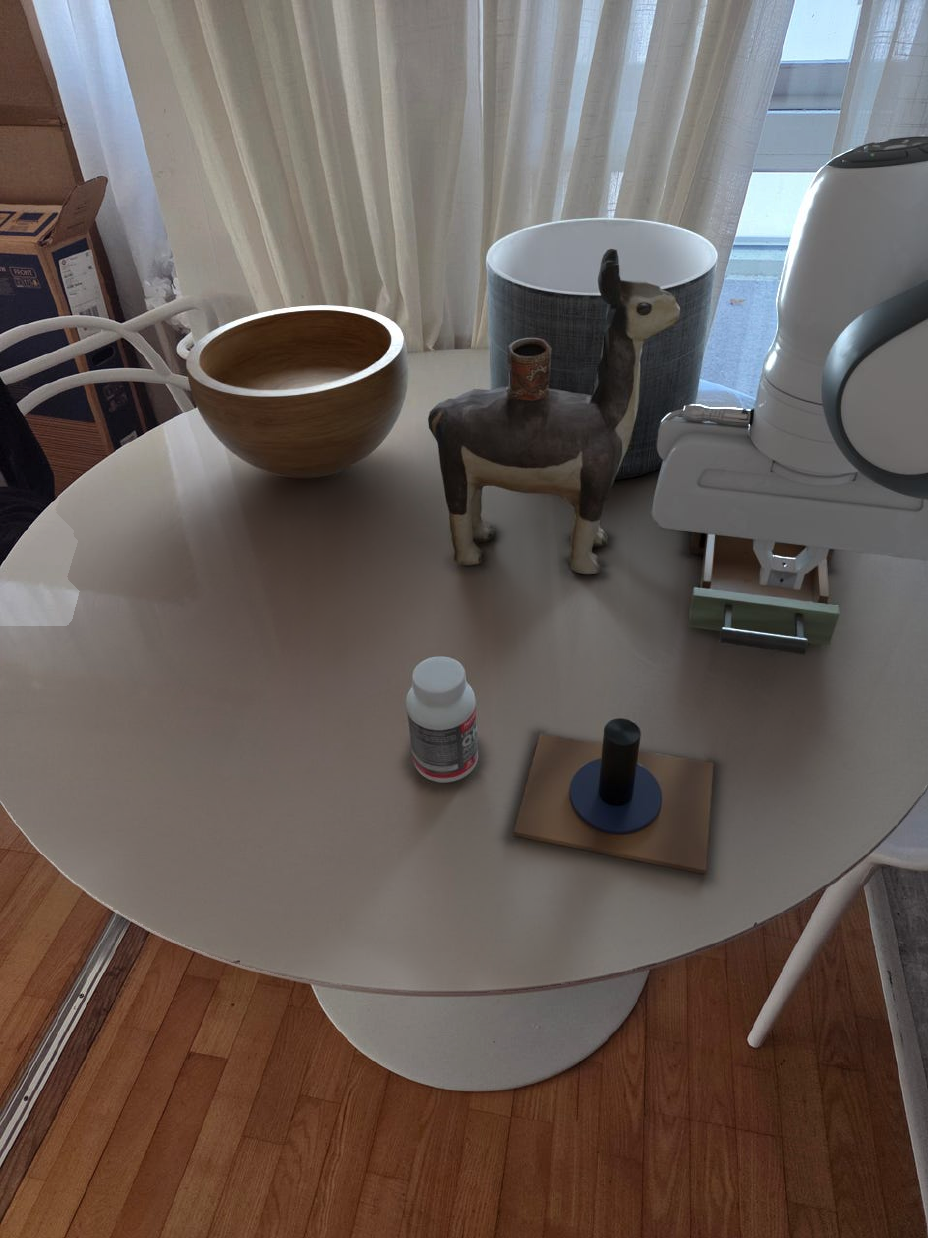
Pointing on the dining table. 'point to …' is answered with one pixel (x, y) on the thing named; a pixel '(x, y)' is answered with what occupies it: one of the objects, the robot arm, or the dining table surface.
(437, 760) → the pill bottle
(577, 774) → the lid
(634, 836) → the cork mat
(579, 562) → the figurine
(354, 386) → the bowl
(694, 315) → the planter
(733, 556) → the drawer
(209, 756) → the dining table surface
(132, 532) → the dining table surface
